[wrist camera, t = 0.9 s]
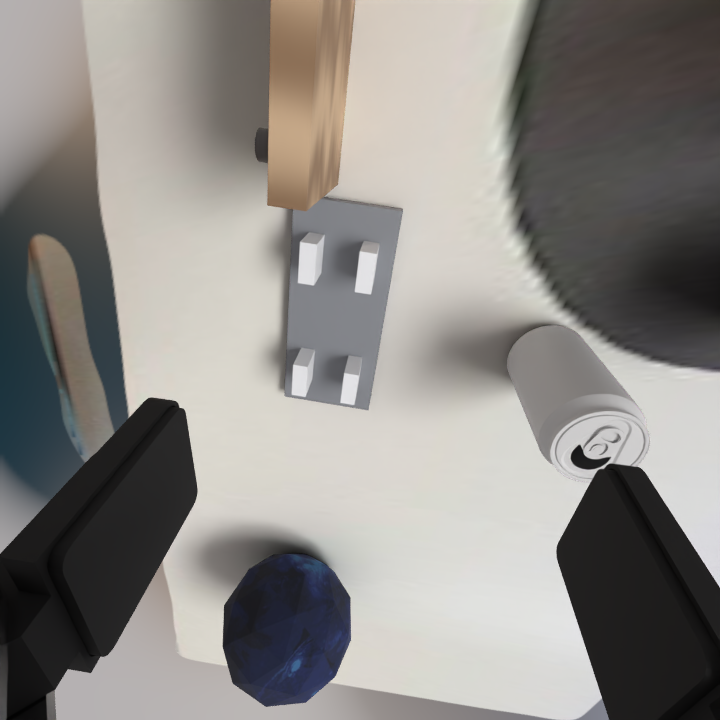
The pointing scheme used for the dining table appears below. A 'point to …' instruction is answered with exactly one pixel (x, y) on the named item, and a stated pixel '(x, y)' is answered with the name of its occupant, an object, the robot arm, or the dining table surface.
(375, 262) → the hinge base
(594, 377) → the beverage can
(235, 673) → the decorative orb
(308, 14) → the door panel
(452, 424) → the dining table surface
